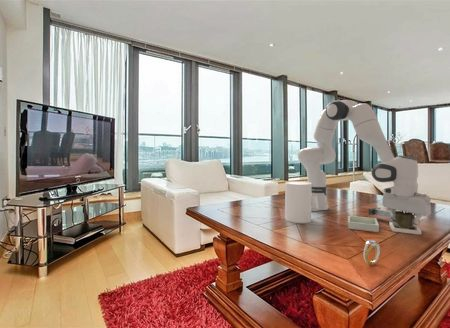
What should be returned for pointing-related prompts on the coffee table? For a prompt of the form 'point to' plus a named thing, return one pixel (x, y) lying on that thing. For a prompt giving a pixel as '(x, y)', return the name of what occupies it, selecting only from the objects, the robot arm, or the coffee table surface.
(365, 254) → the ring
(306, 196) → the canister
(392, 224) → the tray
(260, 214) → the coffee table surface
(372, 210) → the crank
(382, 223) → the coffee table surface
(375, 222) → the tray
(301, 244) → the coffee table surface
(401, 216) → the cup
